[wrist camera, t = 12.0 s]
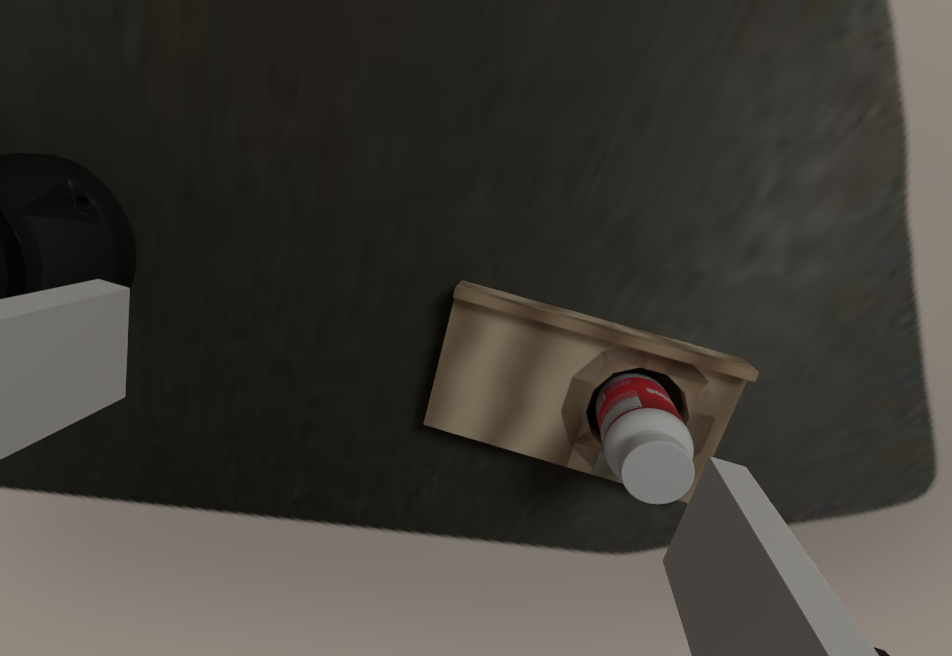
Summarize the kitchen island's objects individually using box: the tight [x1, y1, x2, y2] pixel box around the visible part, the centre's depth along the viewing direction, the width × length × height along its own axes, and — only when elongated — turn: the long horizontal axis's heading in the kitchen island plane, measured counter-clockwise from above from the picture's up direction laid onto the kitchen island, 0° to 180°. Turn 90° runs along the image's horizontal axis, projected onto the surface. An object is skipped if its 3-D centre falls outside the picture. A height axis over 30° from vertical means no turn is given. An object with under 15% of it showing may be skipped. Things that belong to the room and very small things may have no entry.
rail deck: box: [424, 281, 759, 503], centre depth 42 cm, size 24×13×3 cm, turn 76°
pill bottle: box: [596, 373, 695, 504], centre depth 38 cm, size 6×6×11 cm
